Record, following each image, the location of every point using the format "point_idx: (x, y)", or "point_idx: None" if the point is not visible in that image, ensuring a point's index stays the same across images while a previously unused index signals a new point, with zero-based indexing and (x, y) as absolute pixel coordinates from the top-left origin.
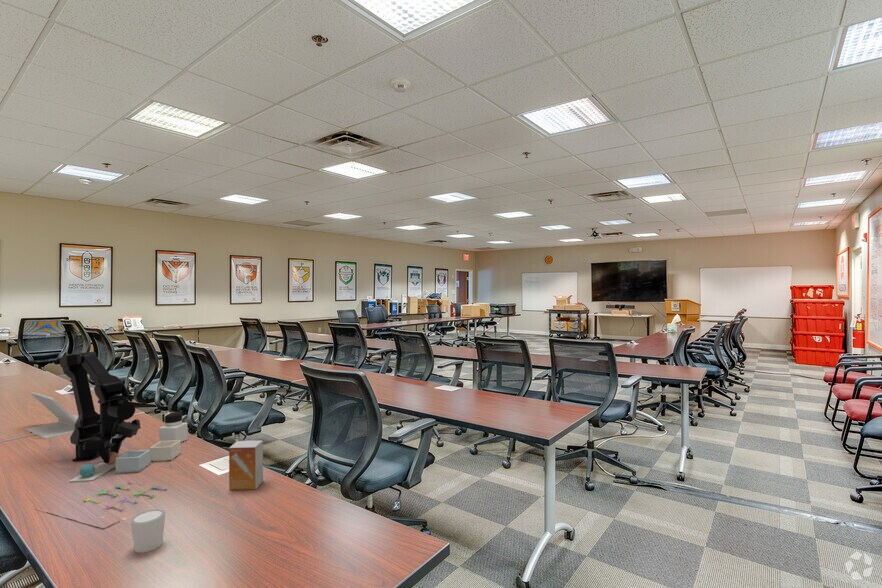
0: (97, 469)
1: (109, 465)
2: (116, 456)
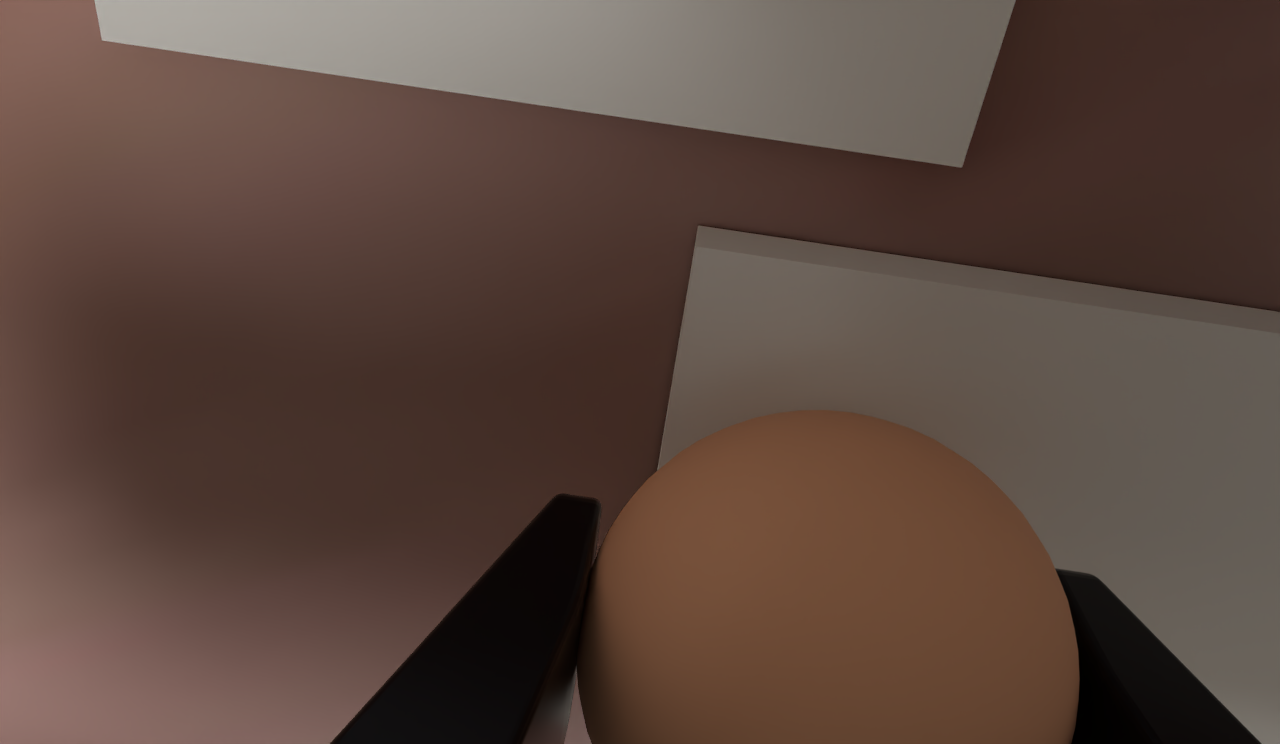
0: (1232, 658)
1: (991, 479)
2: (919, 528)
